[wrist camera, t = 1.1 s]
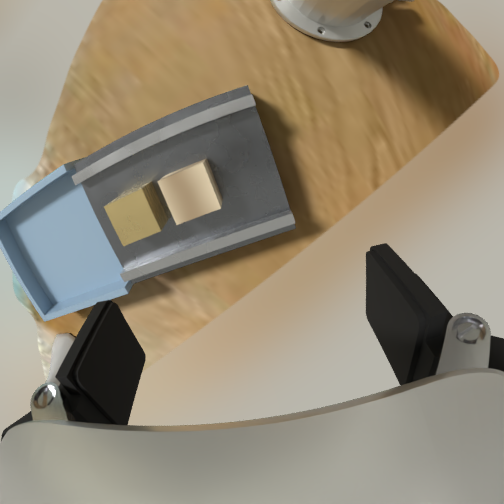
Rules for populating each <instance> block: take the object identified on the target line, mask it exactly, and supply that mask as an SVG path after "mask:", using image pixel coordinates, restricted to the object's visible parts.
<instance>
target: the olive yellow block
mask: <svg viewBox="0 0 504 504" xmlns="http://www.w3.org/2000/svg"><path fill="white" fill-rule="evenodd" d="M104 208H105V210H106V213H107V215H108V217H109V219H110V221H111V223H112V225H113V227H114V229H115V231H116V233H117V235H118V237H119V239H120V241H121V243H122V245H123V246H126V245H128V244H130V243H133V242H135V241H138V240H140V239H143V238H145V237H148V236H150V235H153V234H155V233H158V232H160V231H162V229H163V227H164V226H165V224H166V223H167V221H168V218H167V215H166V213H165V211H164V209H163V207H162V204H161V202H160V200H159V198H158V195H157V193H156V191H155V188H154V186H153V184H152V181H151V182H149V183H147V184H144V185H142V186H140V187H138V188H136V189H133V190H131V191H129V192H127V193H125V194H123V195H121V196H119V197H117V198H115V199H114V200H112V201H111V202H110V203H108V204H107V205H105V206H104Z"/></svg>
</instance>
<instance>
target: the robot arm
mask: <svg viewBox="0 0 504 504" xmlns="http://www.w3.org/2000/svg"><path fill="white" fill-rule="evenodd" d="M270 1H271V3H272V5H273V7H274V8H275V10H276V11H277V13H278V14H279V15H280V16H281V17H282V18H283V19H284V20H285V21H286V22H287V23H289V24H290V25H291V26H293V27H294V28H296V29H297V30H299V31H301V32H303V33H304V34H307V35H309V36H312V37H314V38H318V39H321V40H325V41H333V42H348V41H352V40H356V39H359V38H361V37H363V36H365V35H367V34H368V33H370V32H371V31H372V30H373V29H374V28H375V27H376V26H377V25H378V23H379V21H380V20H381V16H382V12H383V7H384V6H385V5H387V4H388V3H392V2H393V1H394V0H281V1H278V0H270ZM399 1H411V2H412V1H414V0H399ZM365 26H366V27H365ZM318 31H321V34H320V33H319V32H318ZM366 315H367V319H368V321H369V323H370V325H371V327H372V329H373V331H374V333H375V335H376V337H377V339H378V341H379V342H380V345H381V346H382V349H383V351H384V353H385V355H386V357H387V359H388V361H389V363H390V365H391V367H392V369H393V371H394V373H395V375H396V377H397V379H398V381H399V384H400V385H401V386H398V387H395V388H392V389H389V390H385V391H382V392H379V393H376V394H372V395H369V396H365V397H361V398H357V399H353V400H350V401H346V402H342V403H338V404H334V405H330V406H326V407H321V408H317V409H313V410H307V411H303V412H297V413H292V414H287V415H280V416H274V417H268V418H261V419H253V420H246V421H237V422H228V423H216V424H202V425H180V426H130V425H128V421H129V417H130V413H131V409H132V405H133V401H134V398H135V394H136V391H137V387H138V384H139V380H140V377H141V373H142V370H143V366H144V363H145V353H144V351H143V349H142V347H141V346H140V344H139V342H138V341H137V339H136V337H135V336H134V334H133V332H132V330H131V329H130V327H129V325H128V323H127V322H126V320H125V318H124V316H123V314H122V313H121V311H120V309H119V307H118V305H117V304H116V303H113V302H112V301H111V300H106V301H100V302H97V303H96V304H95V306H94V307H93V309H92V311H91V312H90V314H89V316H88V317H87V319H86V321H85V323H84V324H83V326H82V328H81V329H80V331H79V333H78V335H77V336H76V338H75V340H74V342H73V344H72V345H71V347H70V349H69V351H68V353H67V355H66V356H65V358H64V360H63V362H62V364H61V366H60V368H59V370H58V372H57V374H56V376H55V377H56V379H57V380H58V381H59V382H60V384H59V387H58V385H57V384H55V383H53V382H48V383H45V384H43V385H41V386H40V387H38V388H37V390H36V391H35V392H34V394H33V395H32V398H31V404H30V406H31V411H30V412H29V413H28V414H26V415H25V416H23V417H22V418H20V419H19V420H18V421H16V422H15V423H13V424H12V425H10V426H9V427H8V428H6V429H5V430H4V431H3V433H2V438H1V443H0V504H504V339H503V338H499V337H495V336H491V333H490V328H489V325H488V323H487V322H486V321H485V320H484V319H483V318H481V317H480V316H478V315H475V314H472V313H461V314H457V315H456V316H454V317H453V316H452V315H451V314H450V313H449V311H448V310H447V309H446V308H445V306H444V305H443V304H442V303H441V302H440V300H439V299H438V298H437V297H436V296H435V295H434V293H433V292H432V291H431V290H430V289H429V287H428V286H427V285H426V284H425V283H424V282H423V281H422V279H421V278H420V277H419V276H418V275H417V274H415V273H414V272H413V271H412V270H411V269H410V268H409V267H408V266H407V265H406V263H405V262H404V261H403V260H402V259H401V258H400V257H399V256H398V255H397V254H396V253H395V252H394V251H393V250H392V249H391V248H390V246H389V245H387V244H380V245H376V246H372V247H371V248H370V251H368V252H366Z"/></svg>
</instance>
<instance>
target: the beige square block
mask: <svg viewBox="0 0 504 504" xmlns="http://www.w3.org/2000/svg"><path fill="white" fill-rule="evenodd" d="M158 184H159V186H160V189H161V191H162V193H163V196H164V198H165V200H166V202H167V205H168V207H169V209H170V211H171V214H172V216H173V218H174V220H175V223H176V225H178V224H181V223H184V222H186V221H189V220H192V219H194V218H197V217H200V216H202V215H205V214H208V213H210V212H213V211H216V210H219V209H221V206H222V200H223V199H222V196H221V194H220V191H219V188H218V186H217V183H216V181H215V178H214V176H213V173H212V170H211V168H210V165H209V163H208V160H207V159H204V160H201V161H199V162H196V163H194V164H191V165H189V166H186V167H184V168H181V169H179V170H177V171H174V172H172V173H169V174H167V175H165V176H164V177H163V178H161V179H160V180H159V181H158Z"/></svg>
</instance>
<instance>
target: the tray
mask: <svg viewBox="0 0 504 504" xmlns="http://www.w3.org/2000/svg"><path fill="white" fill-rule="evenodd" d="M85 158H86V157H85ZM83 159H84V158H82V159H79V160H75V161H72V162H70V163H67V164H64V165H62V166H61V167H59V168H58V169H56V170H55V171H53V172H52V173H50V174H49V175H48V176H46V177H45V178H43V179H42V180H40V181H39V182H38V183H36V184H35V185H34V186H32V187H31V188H30V189H28V190H27V191H26V192H24V193H23V194H22V195H20V196H19V197H18V198H17V199H15V200H14V201H13V202H12V203H10V204H9V205H8V206H7V207H6V208H4V209H3V210H2V211H1V212H0V248H1V250H2V252H3V254H4V256H5V258H6V260H7V262H8V263H9V265H10V267H11V269H12V271H13V272H14V274H15V276H16V278H17V279H18V281H19V283H20V285H21V286H22V288H23V290H24V291H25V293H26V294H27V296H28V298H29V299H30V301H31V302H32V304H33V305H34V307H35V308H36V310H37V311H38V313H39V314H40V316H41V317H42V319H43V320H44V322H45V321H48V320H51V319H54V318H57V317H60V316H63V315H66V314H69V313H72V312H75V311H78V310H81V309H84V308H87V307H90V306H93V305H95V304H96V303H97V302H100V301H106V300H111V299H114V298H117V297H120V296H123V295H125V294H128V293H129V291H130V289H131V288H132V286H133V284H132V283H131V281H130V280H129V281H126V282H124V281H123V279H122V277H121V276H120V273H121V271H122V270H123V267H122V265H121V264H120V262H119V260H118V258H117V256H116V254H115V252H114V251H113V249H112V247H111V245H110V243H109V241H108V239H107V237H106V235H105V233H104V231H103V229H102V227H101V225H100V223H99V221H98V219H97V217H96V215H95V213H94V211H93V208H92V206H91V204H90V202H89V200H88V198H87V195H86V193H85V191H84V189H83V186H82V184H81V183H80V184H78V185H76V186H75V184H74V181H73V179H72V177H71V176H73V175H74V174H76V173H77V172H76V170H75V167H74V164H76V163H78V162H79V161H81V160H83Z"/></svg>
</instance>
